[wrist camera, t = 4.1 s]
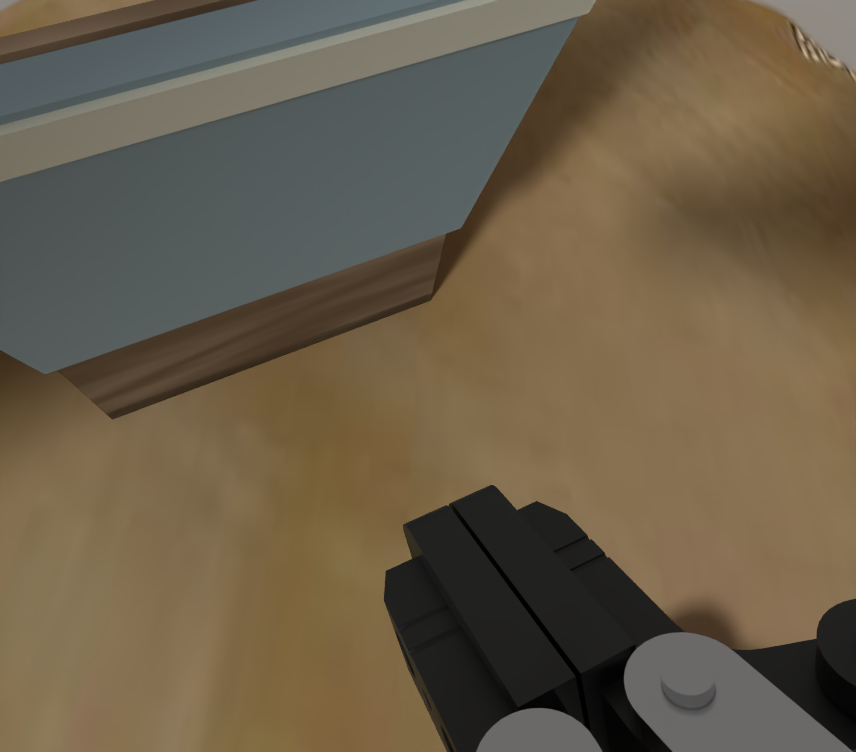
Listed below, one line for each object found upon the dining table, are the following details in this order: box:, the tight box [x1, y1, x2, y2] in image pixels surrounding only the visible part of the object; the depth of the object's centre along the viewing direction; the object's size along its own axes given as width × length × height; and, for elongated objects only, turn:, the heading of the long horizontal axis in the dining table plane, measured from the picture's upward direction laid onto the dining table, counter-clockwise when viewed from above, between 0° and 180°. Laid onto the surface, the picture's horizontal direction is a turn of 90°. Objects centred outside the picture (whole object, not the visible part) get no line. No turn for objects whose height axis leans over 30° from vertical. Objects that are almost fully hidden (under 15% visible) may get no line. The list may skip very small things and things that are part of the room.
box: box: [0, 0, 446, 419], centre depth 36 cm, size 16×18×9 cm
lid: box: [0, 0, 596, 374], centre depth 22 cm, size 16×18×1 cm
